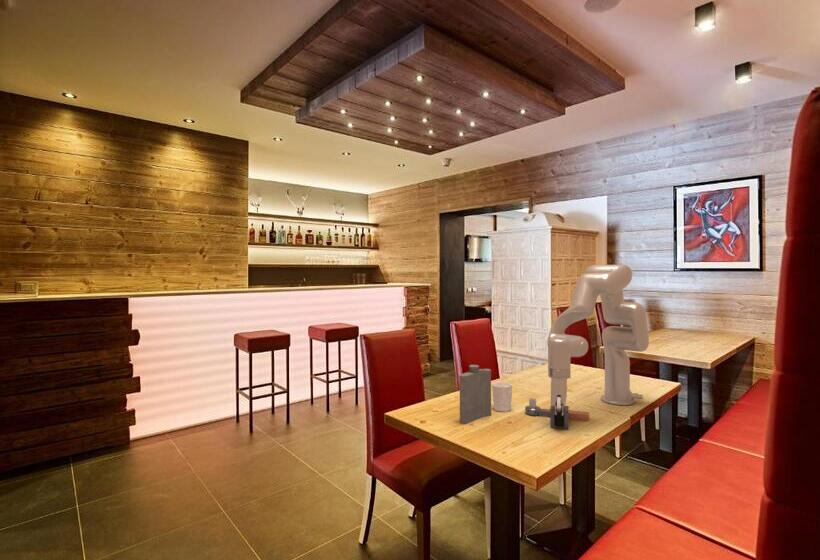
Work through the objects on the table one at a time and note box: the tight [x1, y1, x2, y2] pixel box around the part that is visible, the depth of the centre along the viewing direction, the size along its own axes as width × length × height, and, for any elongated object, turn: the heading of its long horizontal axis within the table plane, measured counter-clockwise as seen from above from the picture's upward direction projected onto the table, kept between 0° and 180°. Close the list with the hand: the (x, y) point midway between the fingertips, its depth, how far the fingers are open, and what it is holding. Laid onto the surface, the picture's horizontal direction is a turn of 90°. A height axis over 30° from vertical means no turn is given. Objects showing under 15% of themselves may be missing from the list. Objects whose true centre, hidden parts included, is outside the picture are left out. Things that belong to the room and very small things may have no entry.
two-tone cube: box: [549, 405, 570, 431], centre depth 149 cm, size 6×6×6 cm
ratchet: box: [524, 397, 590, 422], centre depth 158 cm, size 23×6×6 cm, turn 69°
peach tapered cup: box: [491, 381, 513, 412], centre depth 168 cm, size 8×8×10 cm
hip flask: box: [458, 364, 492, 425], centre depth 157 cm, size 16×4×20 cm, turn 129°
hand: (559, 422), depth 149 cm, fingers closed on two-tone cube, 6 cm apart
